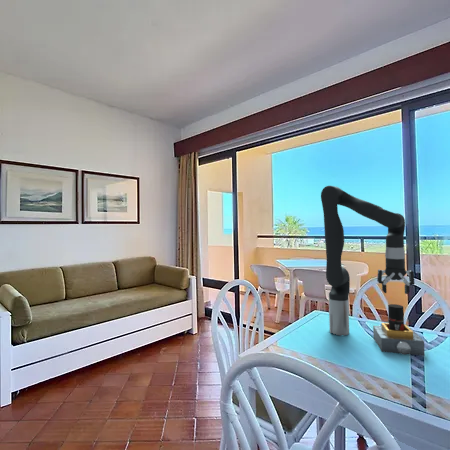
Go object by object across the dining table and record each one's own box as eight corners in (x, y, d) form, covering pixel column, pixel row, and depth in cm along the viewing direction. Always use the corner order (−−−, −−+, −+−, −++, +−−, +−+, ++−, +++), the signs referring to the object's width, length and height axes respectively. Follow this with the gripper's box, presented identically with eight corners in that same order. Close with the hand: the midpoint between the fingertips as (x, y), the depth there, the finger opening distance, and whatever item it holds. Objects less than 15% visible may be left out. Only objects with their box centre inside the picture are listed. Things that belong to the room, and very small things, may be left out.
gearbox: (382, 353, 121) (382, 333, 121) (373, 337, 139) (373, 320, 139) (426, 357, 117) (425, 336, 117) (411, 340, 134) (410, 322, 134)
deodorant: (400, 337, 131) (399, 304, 132) (407, 342, 125) (406, 307, 126) (386, 336, 132) (385, 304, 132) (392, 341, 126) (391, 307, 126)
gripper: (379, 258, 127) (380, 294, 127) (416, 258, 123) (416, 296, 123) (375, 256, 134) (376, 290, 134) (410, 256, 131) (410, 292, 130)
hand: (395, 293), depth 129 cm, fingers open, 8 cm apart
